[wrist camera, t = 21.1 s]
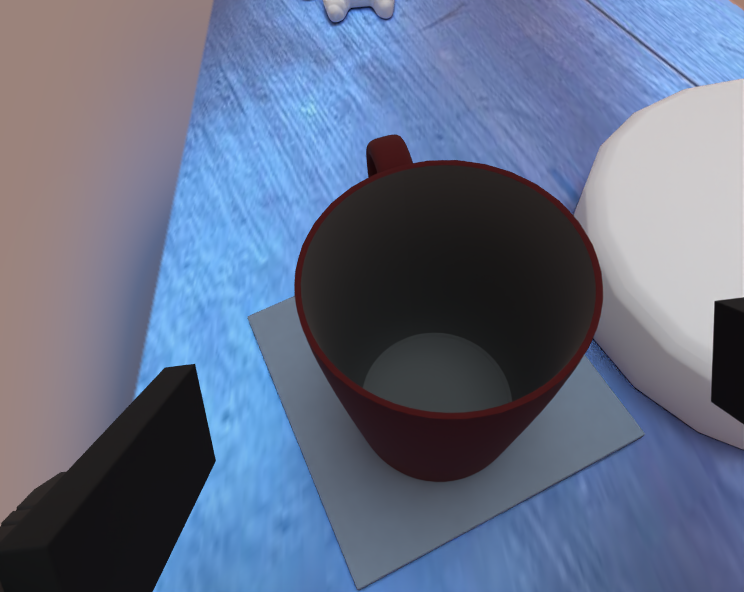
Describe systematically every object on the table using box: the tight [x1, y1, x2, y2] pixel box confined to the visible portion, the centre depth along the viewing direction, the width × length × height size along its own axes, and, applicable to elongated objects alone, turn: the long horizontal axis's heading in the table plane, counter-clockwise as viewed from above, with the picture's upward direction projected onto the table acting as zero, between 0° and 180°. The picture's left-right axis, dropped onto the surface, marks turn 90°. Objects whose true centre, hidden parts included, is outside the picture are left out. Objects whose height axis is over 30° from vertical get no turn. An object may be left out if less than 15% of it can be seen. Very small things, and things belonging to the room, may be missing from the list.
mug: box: [294, 135, 603, 482], centre depth 21 cm, size 12×9×11 cm
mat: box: [248, 296, 645, 590], centre depth 26 cm, size 14×14×1 cm
